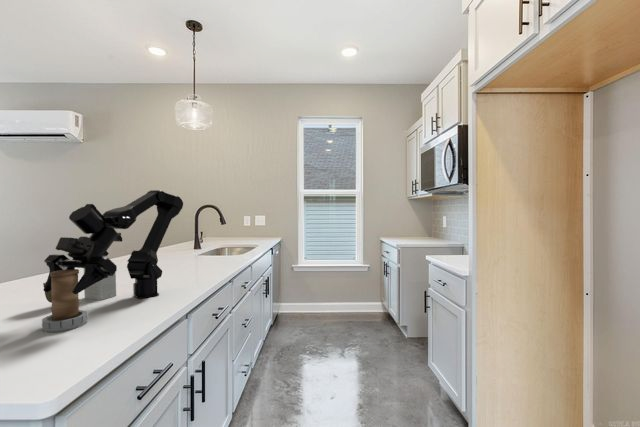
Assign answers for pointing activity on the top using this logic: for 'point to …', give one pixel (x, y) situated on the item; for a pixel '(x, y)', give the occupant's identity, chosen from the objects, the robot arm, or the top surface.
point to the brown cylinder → (64, 294)
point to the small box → (102, 288)
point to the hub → (64, 323)
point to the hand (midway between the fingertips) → (59, 292)
